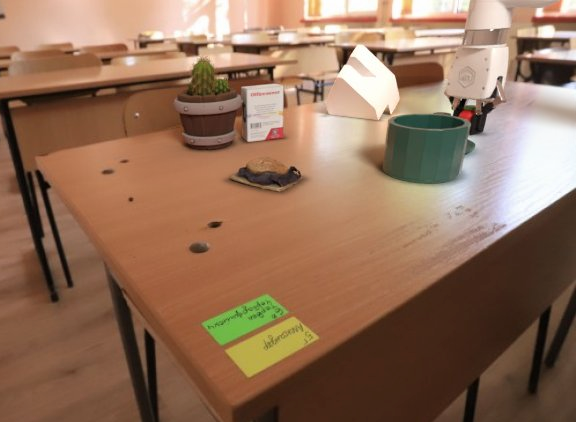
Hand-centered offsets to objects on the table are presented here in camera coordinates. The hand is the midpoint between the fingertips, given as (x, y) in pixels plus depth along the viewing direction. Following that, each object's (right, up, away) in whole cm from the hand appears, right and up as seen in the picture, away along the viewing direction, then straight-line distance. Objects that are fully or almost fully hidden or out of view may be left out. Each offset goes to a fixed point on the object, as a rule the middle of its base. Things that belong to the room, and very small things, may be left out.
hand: (466, 129), depth 90 cm
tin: (-20, -11, -19) cm, 30 cm away
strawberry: (0, 0, 0) cm, 0 cm away
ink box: (-43, -1, +7) cm, 44 cm away
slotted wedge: (-16, +7, +20) cm, 27 cm away
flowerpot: (-55, -3, +5) cm, 56 cm away
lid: (-11, -5, -9) cm, 15 cm away
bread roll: (-46, -12, -18) cm, 51 cm away
